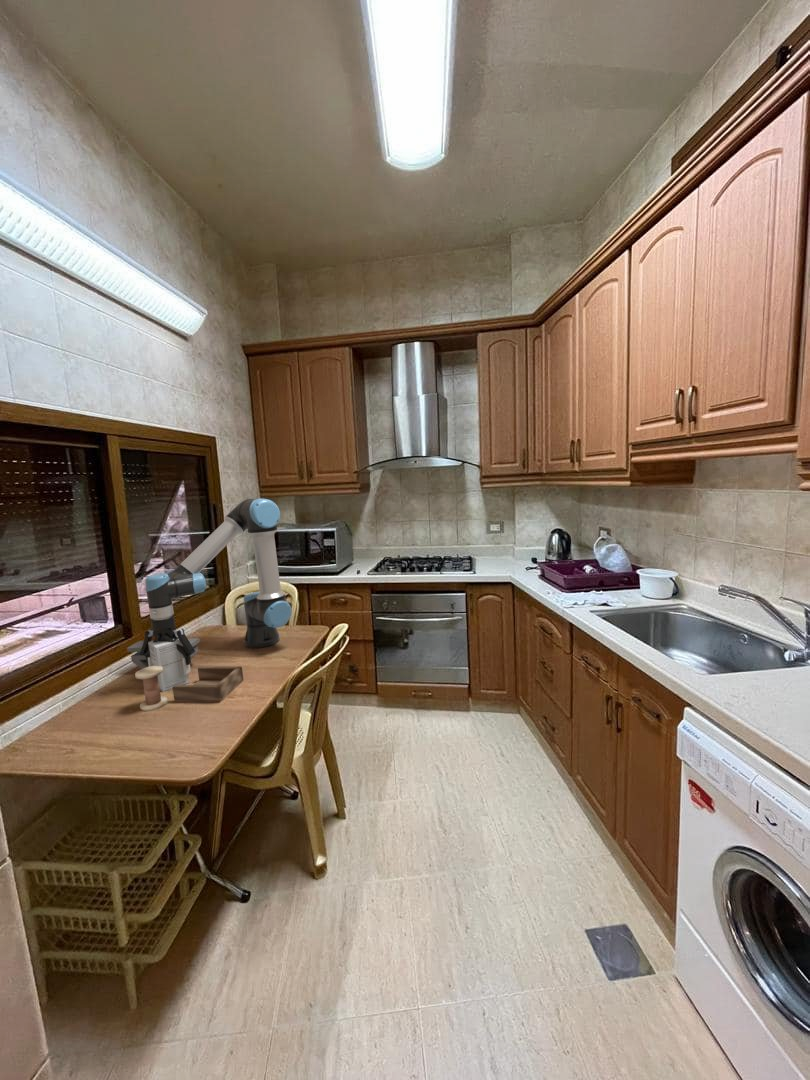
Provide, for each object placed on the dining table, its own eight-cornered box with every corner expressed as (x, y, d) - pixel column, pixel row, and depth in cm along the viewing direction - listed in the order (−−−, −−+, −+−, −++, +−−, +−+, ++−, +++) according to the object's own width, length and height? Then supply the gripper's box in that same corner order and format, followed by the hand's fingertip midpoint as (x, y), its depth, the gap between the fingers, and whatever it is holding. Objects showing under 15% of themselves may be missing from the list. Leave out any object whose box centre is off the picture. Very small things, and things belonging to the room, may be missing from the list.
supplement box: (181, 676, 172) (175, 633, 169) (190, 682, 165) (184, 639, 163) (153, 685, 165) (147, 641, 163) (161, 692, 159) (155, 647, 156)
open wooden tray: (201, 680, 167) (200, 666, 166) (243, 680, 164) (241, 666, 164) (174, 701, 151) (172, 687, 150) (220, 702, 149) (218, 687, 148)
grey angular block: (202, 663, 183) (199, 637, 181) (193, 671, 175) (189, 645, 174) (143, 666, 184) (139, 640, 182) (131, 674, 176) (126, 648, 175)
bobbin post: (151, 698, 154) (146, 665, 153) (172, 698, 153) (168, 665, 152) (134, 710, 147) (129, 676, 145) (157, 711, 146) (151, 676, 144)
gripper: (123, 621, 160) (132, 677, 163) (187, 619, 156) (195, 677, 159) (138, 614, 167) (146, 668, 170) (200, 613, 164) (207, 668, 167)
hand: (170, 673), depth 165 cm, fingers open, 13 cm apart
